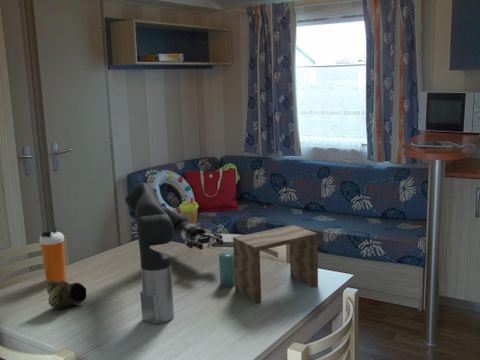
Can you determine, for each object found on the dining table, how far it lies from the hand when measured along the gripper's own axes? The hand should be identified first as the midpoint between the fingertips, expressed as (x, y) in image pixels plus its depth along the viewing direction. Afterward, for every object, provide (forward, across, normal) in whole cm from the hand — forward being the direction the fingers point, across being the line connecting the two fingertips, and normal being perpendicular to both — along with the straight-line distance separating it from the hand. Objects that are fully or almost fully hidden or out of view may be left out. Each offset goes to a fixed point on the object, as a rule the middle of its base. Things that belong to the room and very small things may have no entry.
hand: (212, 244), depth 202 cm
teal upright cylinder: (+12, 0, +12) cm, 17 cm away
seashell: (-2, -55, +12) cm, 56 cm away
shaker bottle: (-30, -52, +12) cm, 62 cm away
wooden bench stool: (+26, +12, +12) cm, 31 cm away
